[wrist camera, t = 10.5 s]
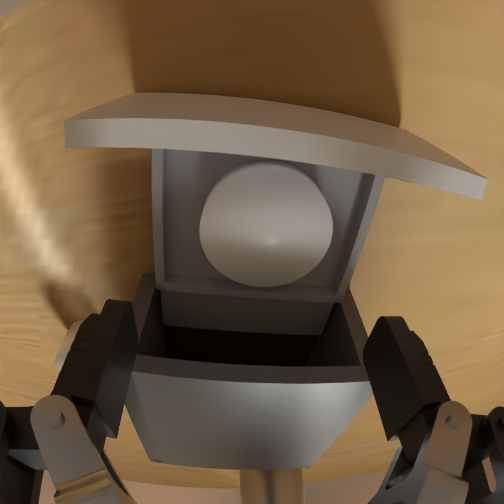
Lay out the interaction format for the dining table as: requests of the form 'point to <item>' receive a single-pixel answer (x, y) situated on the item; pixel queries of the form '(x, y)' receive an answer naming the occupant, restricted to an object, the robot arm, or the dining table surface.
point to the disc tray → (248, 149)
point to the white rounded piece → (67, 344)
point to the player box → (244, 397)
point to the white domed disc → (265, 224)
